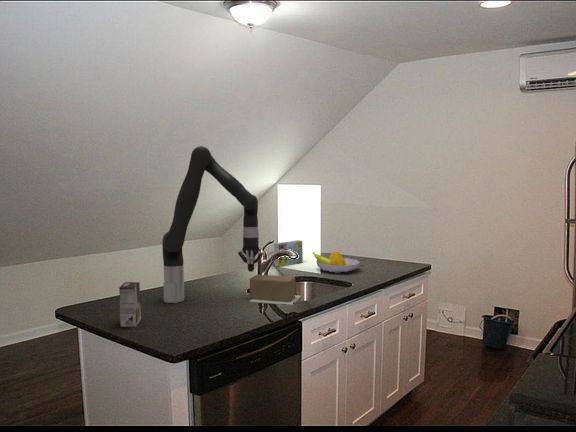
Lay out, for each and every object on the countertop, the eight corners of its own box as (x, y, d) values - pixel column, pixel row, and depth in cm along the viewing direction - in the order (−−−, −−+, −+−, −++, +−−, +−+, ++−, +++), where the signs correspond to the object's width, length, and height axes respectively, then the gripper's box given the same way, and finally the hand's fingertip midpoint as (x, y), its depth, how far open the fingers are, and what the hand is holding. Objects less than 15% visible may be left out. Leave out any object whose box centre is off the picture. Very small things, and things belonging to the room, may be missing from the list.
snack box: (297, 261, 332) (297, 239, 331) (302, 263, 328) (303, 240, 326) (273, 266, 318) (273, 243, 316) (279, 267, 314) (279, 244, 312)
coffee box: (125, 320, 204) (124, 282, 202) (141, 319, 204) (140, 281, 203) (119, 327, 195) (118, 287, 193) (136, 326, 195) (135, 286, 194)
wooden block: (249, 299, 235) (289, 302, 229) (249, 278, 234) (289, 281, 228) (257, 294, 244) (295, 297, 238) (256, 274, 243) (295, 276, 237)
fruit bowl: (365, 269, 306) (365, 251, 305) (346, 277, 284) (346, 258, 283) (326, 264, 321) (326, 247, 320) (305, 272, 299) (305, 253, 298)
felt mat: (292, 305, 225) (292, 304, 225) (249, 302, 231) (249, 301, 231) (300, 296, 241) (300, 295, 241) (260, 293, 246) (260, 292, 246)
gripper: (235, 236, 235) (235, 272, 236) (261, 237, 231) (261, 273, 233) (240, 234, 242) (241, 269, 244) (266, 235, 238) (266, 270, 240)
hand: (251, 271), depth 238 cm, fingers closed
